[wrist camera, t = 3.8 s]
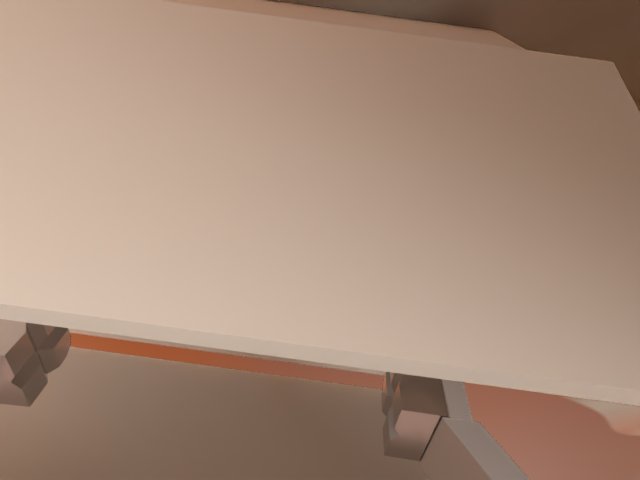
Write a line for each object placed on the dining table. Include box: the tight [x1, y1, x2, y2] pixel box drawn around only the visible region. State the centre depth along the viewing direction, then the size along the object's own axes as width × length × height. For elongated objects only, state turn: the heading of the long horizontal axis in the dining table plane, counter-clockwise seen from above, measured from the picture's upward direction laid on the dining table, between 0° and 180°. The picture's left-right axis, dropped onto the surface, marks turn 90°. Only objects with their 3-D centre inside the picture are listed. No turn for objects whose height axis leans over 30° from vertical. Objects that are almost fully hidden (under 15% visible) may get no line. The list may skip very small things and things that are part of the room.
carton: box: [68, 0, 526, 376], centre depth 17 cm, size 17×11×10 cm, turn 84°
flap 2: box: [0, 347, 429, 480], centre depth 12 cm, size 15×7×1 cm
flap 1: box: [0, 0, 640, 406], centre depth 7 cm, size 15×7×1 cm
